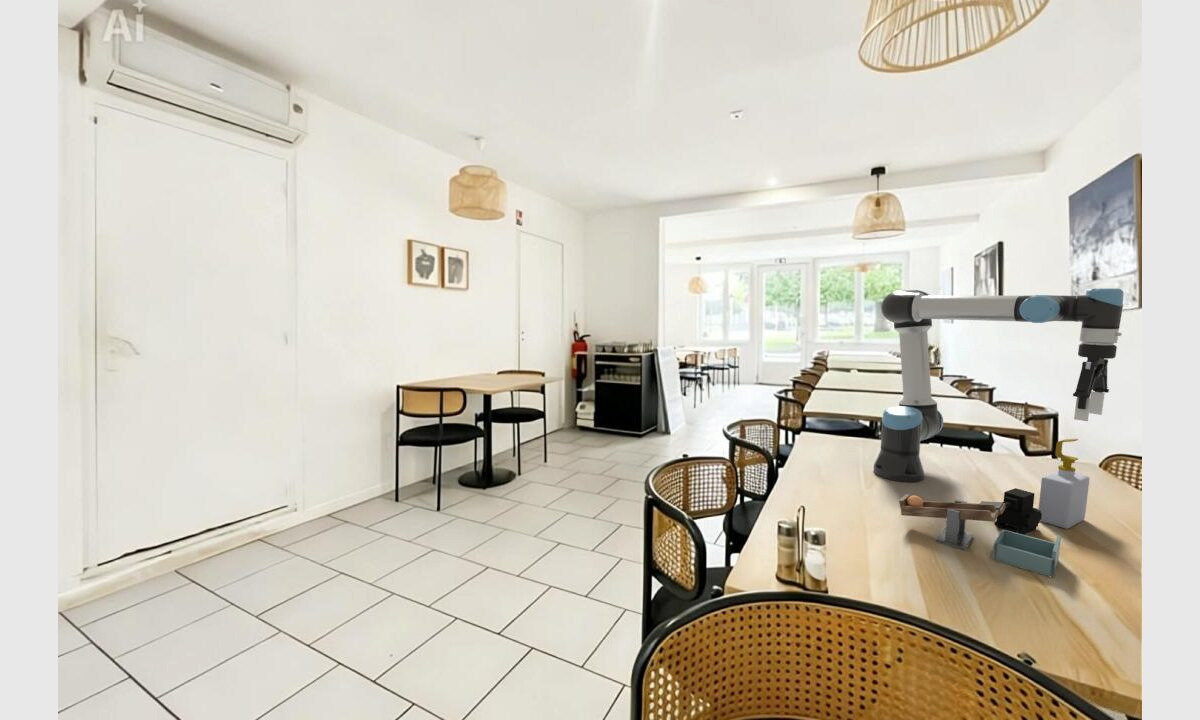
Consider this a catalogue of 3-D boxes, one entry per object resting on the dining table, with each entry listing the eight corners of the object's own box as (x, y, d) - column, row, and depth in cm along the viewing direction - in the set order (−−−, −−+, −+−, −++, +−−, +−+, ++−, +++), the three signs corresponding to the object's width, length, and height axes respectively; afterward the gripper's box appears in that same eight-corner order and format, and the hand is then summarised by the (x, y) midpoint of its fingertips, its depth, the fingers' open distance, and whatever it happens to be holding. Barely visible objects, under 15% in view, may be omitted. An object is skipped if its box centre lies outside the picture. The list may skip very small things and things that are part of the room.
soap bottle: (1067, 530, 130) (1077, 444, 127) (1036, 520, 136) (1044, 438, 133) (1085, 520, 136) (1095, 438, 133) (1054, 511, 142) (1063, 432, 139)
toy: (980, 530, 130) (983, 494, 129) (1008, 519, 137) (1011, 485, 135) (1014, 542, 124) (1018, 504, 123) (1041, 530, 130) (1045, 494, 129)
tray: (992, 559, 116) (994, 535, 115) (1000, 544, 123) (1002, 521, 122) (1053, 577, 108) (1056, 552, 107) (1058, 560, 115) (1061, 536, 114)
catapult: (901, 515, 131) (898, 500, 131) (914, 502, 139) (911, 488, 140) (997, 521, 116) (993, 505, 116) (1005, 507, 124) (1002, 491, 124)
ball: (908, 511, 131) (903, 498, 132) (912, 507, 133) (907, 494, 134) (923, 510, 128) (917, 496, 129) (927, 506, 131) (921, 493, 132)
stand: (935, 541, 124) (938, 508, 123) (945, 529, 131) (948, 497, 130) (964, 550, 120) (967, 515, 119) (973, 537, 126) (976, 503, 125)
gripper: (1104, 347, 128) (1093, 426, 131) (1128, 342, 141) (1118, 413, 144) (1065, 344, 134) (1056, 420, 137) (1092, 340, 148) (1083, 408, 151)
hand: (1088, 417), depth 141 cm, fingers open, 13 cm apart
